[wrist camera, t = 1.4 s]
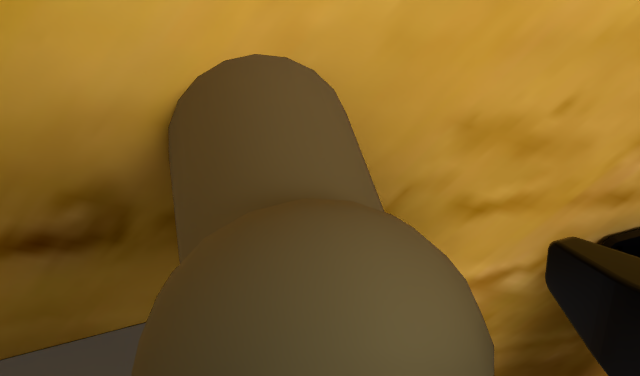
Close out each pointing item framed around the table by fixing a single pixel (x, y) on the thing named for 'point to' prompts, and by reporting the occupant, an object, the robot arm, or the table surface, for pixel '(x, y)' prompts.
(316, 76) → the brown pawn
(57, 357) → the socket plate
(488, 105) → the table surface
